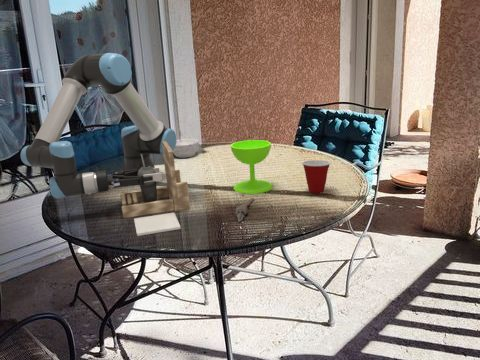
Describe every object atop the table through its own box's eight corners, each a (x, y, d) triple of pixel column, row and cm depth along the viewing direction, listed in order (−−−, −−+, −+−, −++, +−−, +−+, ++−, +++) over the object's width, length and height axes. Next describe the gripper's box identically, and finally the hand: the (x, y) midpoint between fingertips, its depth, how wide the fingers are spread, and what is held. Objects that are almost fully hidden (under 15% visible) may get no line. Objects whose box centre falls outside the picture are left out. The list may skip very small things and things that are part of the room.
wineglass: (260, 196, 176) (258, 150, 171) (225, 191, 184) (222, 147, 179) (279, 184, 189) (278, 141, 183) (246, 180, 197) (244, 139, 192)
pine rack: (123, 219, 161) (114, 158, 154) (121, 201, 179) (113, 147, 173) (190, 209, 167) (184, 150, 160) (181, 193, 185) (175, 139, 179)
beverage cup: (156, 209, 168) (150, 156, 163) (137, 209, 170) (130, 156, 164) (163, 202, 175) (157, 151, 169) (145, 202, 177) (139, 152, 171)
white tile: (137, 236, 146) (136, 233, 146) (134, 220, 159) (133, 218, 158) (180, 228, 149) (180, 226, 149) (174, 214, 162) (174, 212, 162)
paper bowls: (198, 158, 239) (196, 143, 237) (169, 160, 240) (167, 145, 238) (200, 151, 254) (199, 137, 252) (173, 153, 254) (172, 139, 252)
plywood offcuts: (124, 215, 164) (122, 203, 163) (122, 205, 176) (121, 193, 174) (138, 213, 166) (137, 201, 164) (136, 202, 177) (135, 191, 176)
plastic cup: (332, 187, 180) (332, 158, 177) (328, 196, 170) (328, 165, 167) (305, 186, 184) (304, 157, 180) (299, 195, 174) (299, 164, 171)
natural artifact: (235, 227, 152) (228, 217, 152) (252, 201, 172) (245, 193, 172) (244, 221, 150) (236, 211, 150) (260, 196, 171) (253, 187, 170)
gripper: (98, 184, 175) (158, 176, 181) (97, 200, 156) (165, 190, 162) (95, 165, 173) (156, 157, 178) (94, 179, 154) (162, 170, 160)
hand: (160, 173), depth 170 cm, fingers closed on beverage cup, 7 cm apart
